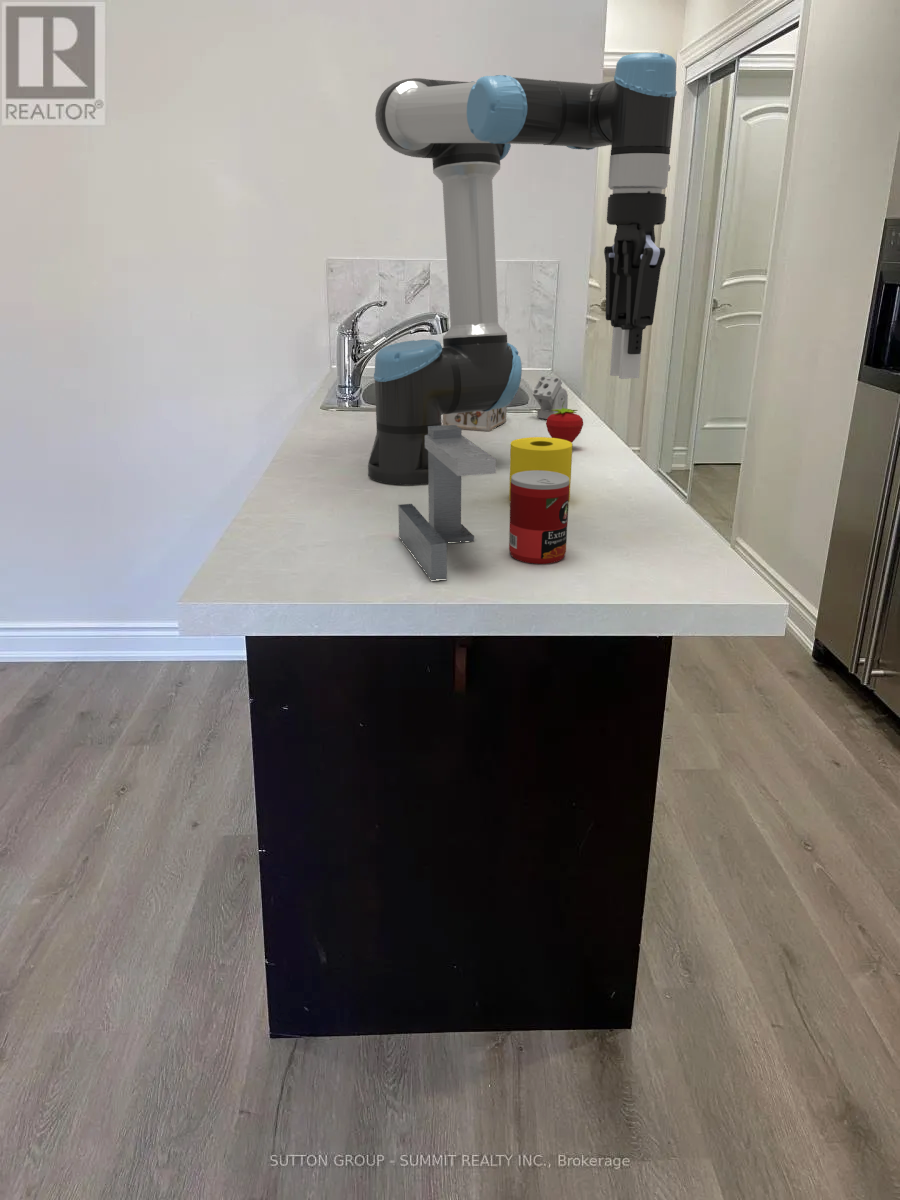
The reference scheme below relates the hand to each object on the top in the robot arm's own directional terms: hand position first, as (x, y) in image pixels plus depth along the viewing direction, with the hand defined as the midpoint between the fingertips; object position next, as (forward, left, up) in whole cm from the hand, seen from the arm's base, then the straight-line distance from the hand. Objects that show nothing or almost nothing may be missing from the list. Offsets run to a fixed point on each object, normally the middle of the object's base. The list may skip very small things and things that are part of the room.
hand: (624, 376), depth 126 cm
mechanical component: (-26, +82, -23) cm, 89 cm away
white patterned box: (-41, +70, -23) cm, 84 cm away
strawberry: (-17, +51, -23) cm, 58 cm away
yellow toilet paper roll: (-14, +13, -23) cm, 30 cm away
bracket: (-20, -17, -22) cm, 35 cm away
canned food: (-9, -14, -23) cm, 28 cm away
